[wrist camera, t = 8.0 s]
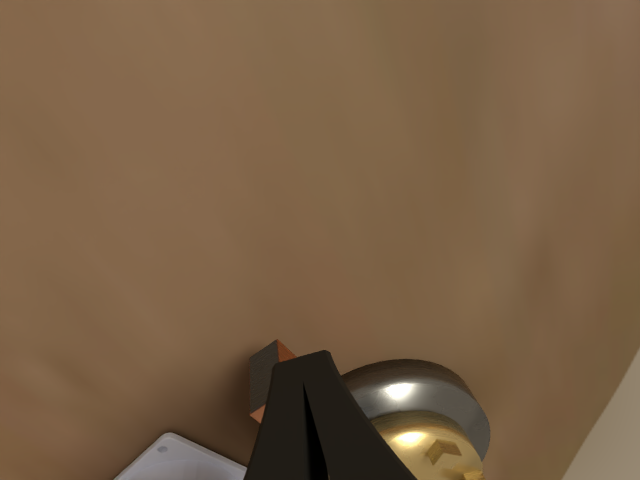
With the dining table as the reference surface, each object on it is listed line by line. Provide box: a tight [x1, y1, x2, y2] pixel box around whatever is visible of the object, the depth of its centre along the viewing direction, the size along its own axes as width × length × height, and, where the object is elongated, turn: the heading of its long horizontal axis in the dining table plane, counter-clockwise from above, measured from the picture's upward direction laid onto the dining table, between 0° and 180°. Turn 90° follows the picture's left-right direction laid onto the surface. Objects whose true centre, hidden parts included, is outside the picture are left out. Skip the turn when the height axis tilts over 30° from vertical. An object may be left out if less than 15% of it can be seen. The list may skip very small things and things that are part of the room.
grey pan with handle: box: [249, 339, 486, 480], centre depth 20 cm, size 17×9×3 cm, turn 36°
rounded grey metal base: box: [341, 359, 490, 462], centre depth 25 cm, size 12×12×2 cm
